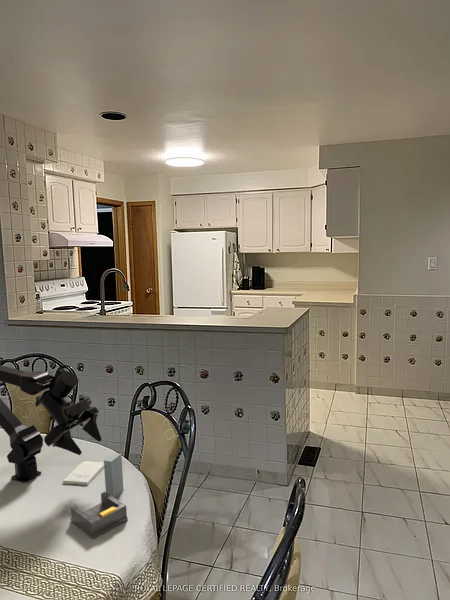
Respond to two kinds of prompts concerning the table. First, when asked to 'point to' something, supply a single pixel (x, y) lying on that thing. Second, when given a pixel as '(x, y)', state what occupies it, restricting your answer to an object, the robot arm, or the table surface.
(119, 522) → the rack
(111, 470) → the block
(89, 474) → the external hard drive
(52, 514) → the table surface
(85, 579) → the table surface
